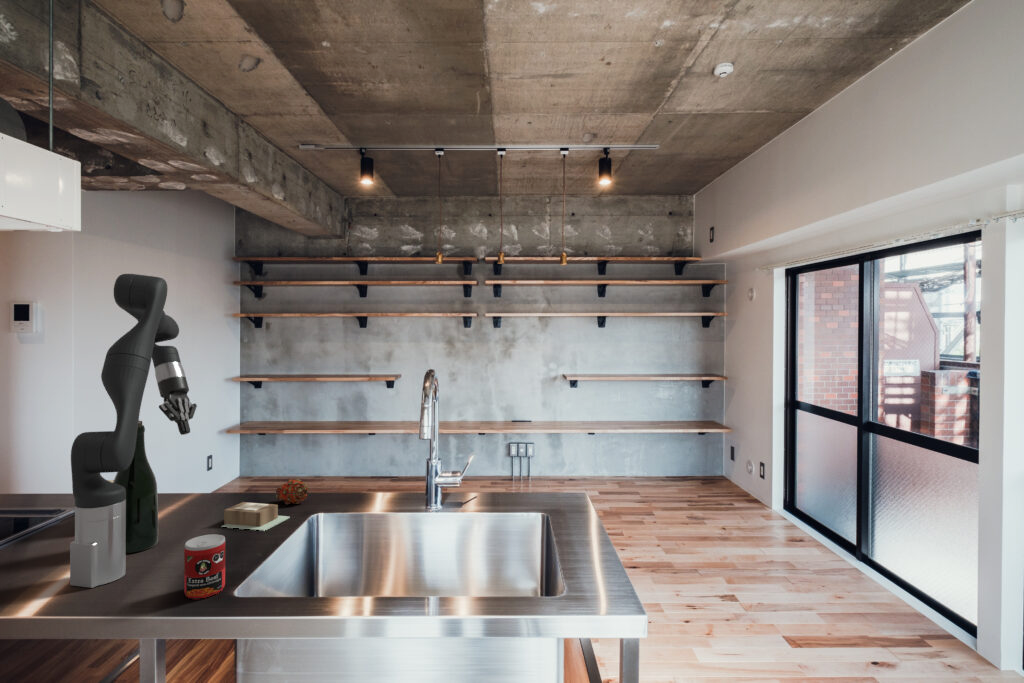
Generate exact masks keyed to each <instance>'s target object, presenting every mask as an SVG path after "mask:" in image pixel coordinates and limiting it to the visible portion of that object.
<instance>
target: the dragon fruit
mask: <svg viewBox="0 0 1024 683" xmlns="http://www.w3.org/2000/svg"><path fill="white" fill-rule="evenodd" d="M275 492H276V493H277V494H276V495H275V498H276V500H280V501H283V500H284V504H285V505H291V503H292V504H294V505H298V504H300V503H302V502H301V501H306V500H308V495H309V494H310V493H311V492H310V491H309V488H308V486H307V484H305V483H304V482H303V481H302V480H300V479H299V478H298V479H297V478H296V479H288V481H287V483H283V484H281V486H279V487H277V489H276V490H275ZM279 493H280V494H279ZM286 493H296V494H286ZM298 493H309V494H298Z"/></svg>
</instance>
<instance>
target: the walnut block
mask: <svg viewBox="0 0 1024 683" xmlns="http://www.w3.org/2000/svg"><path fill="white" fill-rule="evenodd" d="M278 507H279V505H278V504H273V503H262V502H261V503H259V502H247V501H242V502H240V503H238V504H237V503H236V504H235V505H232V506H230V507H228V508H226V509H224V510H223V512H224V514H223V518H224V519H223V525H225V524H234V525H246V526H257V527H261V526H263V525H265V524H267V523H269V522H271V521H273V520H275V519H277V518H278V516H279V513H278V512H279V508H278Z"/></svg>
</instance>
